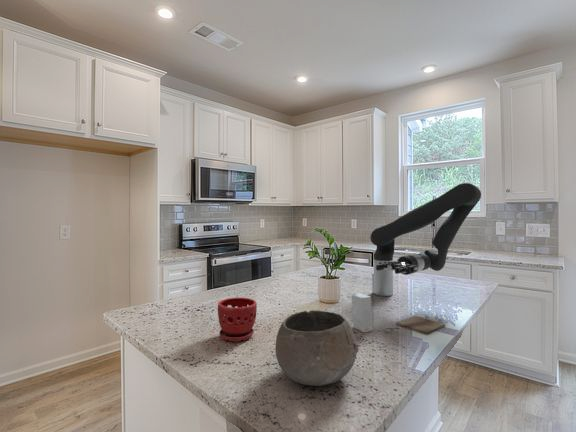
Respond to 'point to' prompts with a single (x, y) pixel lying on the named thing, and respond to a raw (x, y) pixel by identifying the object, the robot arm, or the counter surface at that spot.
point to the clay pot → (315, 347)
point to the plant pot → (237, 318)
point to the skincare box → (362, 312)
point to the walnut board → (420, 324)
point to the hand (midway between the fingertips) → (386, 269)
